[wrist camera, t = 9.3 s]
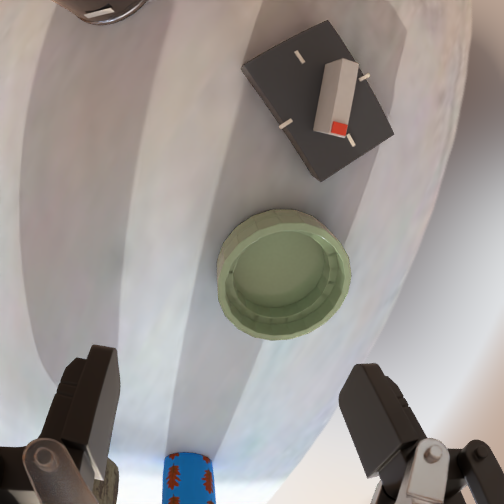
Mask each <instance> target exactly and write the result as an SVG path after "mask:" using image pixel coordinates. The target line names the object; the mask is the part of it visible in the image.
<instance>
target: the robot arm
mask: <svg viewBox="0 0 504 504" xmlns="http://www.w3.org/2000/svg"><path fill="white" fill-rule="evenodd" d="M52 1H53V2H55V3H57V4H59V5H60V6H62V7H64V8H65V9H67V10H69V11H70V12H72V13H73V14H75V15H76V16H77V17H78V18H80V19H81V20H83V21H84V22H87V23H89V24H93V25H107V24H112V23H115V22H118V21H121V20H123V19H125V18H127V17H128V16H130V15H132V14H133V13H134V12H136V11H137V10H138V9H139V8H140V7H141V6H142V5H143V4H144V3H145V2H146V1H147V0H52ZM119 395H120V374H119V366H118V357H117V350H116V348H112V347H106V346H100V345H92V347H91V349H90V352H89V354H88V357H87V359H82V358H75V359H74V360H73V361H72V362H71V363H70V364H69V365H68V366H67V367H66V369H65V371H64V373H63V376H62V378H61V383H59V386H58V388H57V393H56V394H55V396H54V399H53V402H52V404H51V407H50V410H49V412H48V415H47V418H46V421H45V424H44V427H43V430H42V432H41V434H40V436H39V437H38V438H37V439H35V440H33V441H31V442H30V443H29V444H28V445H27V446H24V447H0V504H100V503H99V502H98V500H97V499H96V497H95V496H94V494H93V492H92V490H93V483H94V479H98V480H103V481H104V477H105V470H106V464H107V458H108V452H109V446H110V441H111V435H112V430H113V425H114V420H115V415H116V410H117V405H118V401H119ZM339 407H340V409H341V412H342V414H343V417H344V419H345V422H346V425H347V427H348V429H349V432H350V435H351V437H352V440H353V442H354V445H355V447H356V450H357V453H358V455H359V458H360V460H361V463H362V466H363V468H364V471H365V473H366V476H367V478H372V477H376V476H380V479H381V481H380V482H379V483H378V485H377V487H376V490H375V493H374V495H373V498H372V501H371V503H370V504H466V503H465V500H464V498H463V496H462V493H461V490H462V489H463V488H464V487H466V486H467V485H468V486H469V488H470V491H471V493H472V495H473V497H474V500H475V502H476V504H504V473H503V471H502V469H501V467H500V465H499V464H498V462H497V460H496V458H495V456H494V454H493V453H492V451H491V449H490V447H489V446H488V445H487V444H486V443H484V442H483V441H480V440H472V441H470V442H469V443H468V444H467V445H466V446H465V447H464V448H463V449H447V448H446V446H445V445H444V444H443V443H442V442H440V441H438V440H436V439H433V438H427V437H426V435H425V433H424V432H423V430H422V428H421V426H420V424H419V423H418V421H417V419H416V417H415V415H414V413H413V412H412V410H411V408H410V407H408V403H407V401H406V399H405V398H403V394H402V392H401V391H400V389H399V387H398V386H397V385H396V384H395V383H394V382H393V381H392V380H391V379H390V378H389V377H388V376H385V375H384V374H383V372H382V370H381V368H380V367H379V365H378V364H375V363H371V364H356V365H355V366H354V367H353V369H352V371H351V373H350V375H349V377H348V379H347V380H346V382H345V384H344V386H343V388H342V390H341V391H340V394H339Z"/></svg>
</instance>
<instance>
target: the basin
mask: <svg viewBox="0 0 504 504" xmlns="http://www.w3.org/2000/svg"><path fill="white" fill-rule="evenodd" d="M350 280H351V270H350V263H349V257H348V255H347V254H346V252H345V250H344V248H343V246H342V245H341V243H340V242H339V240H338V239H337V238H336V237H335V236H334V235H333V234H332V233H331V232H330V230H329V229H328V228H327V227H326V226H325V225H323V224H322V223H321V222H320V221H318V220H317V219H316V218H315V217H313V216H312V215H309V214H306V213H303V212H300V211H297V210H293V209H274V210H270V211H266V212H263V213H260V214H257V215H254V216H252V217H250V218H249V219H247V220H246V221H244V222H243V223H241V224H240V225H238V226H237V227H236V228H235V229H234V230H233V231H232V233H231V234H230V235H229V237H228V238H227V239H226V240H225V242H224V243H223V245H222V248H221V251H220V254H219V256H218V259H217V287H218V300H219V303H220V305H221V307H222V310H223V312H224V314H225V316H226V317H227V318H228V319H229V320H230V321H231V322H232V324H233V325H234V326H235V327H236V328H237V329H239V330H241V331H243V332H245V333H247V334H249V335H251V336H253V337H255V338H261V339H266V340H271V341H273V340H287V339H293V338H296V337H299V336H302V335H305V334H308V333H310V332H312V331H313V330H315V329H317V328H318V327H320V326H322V325H323V324H325V323H326V322H327V321H328V320H329V319H330V318H331V317H332V316H333V315H334V314H335V313H336V312H337V311H338V309H339V308H340V307H341V305H342V303H343V301H344V299H345V297H346V296H347V294H348V290H349V285H350Z"/></svg>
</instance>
